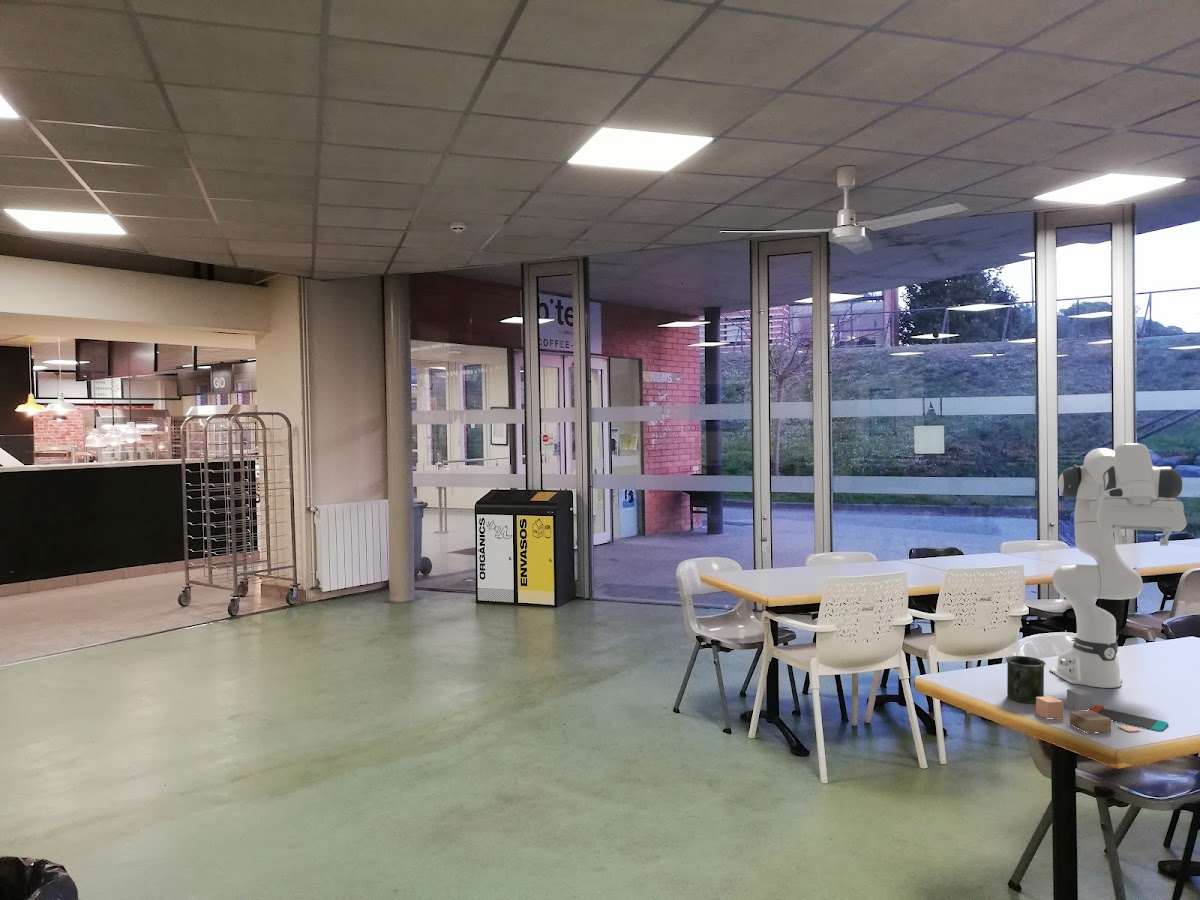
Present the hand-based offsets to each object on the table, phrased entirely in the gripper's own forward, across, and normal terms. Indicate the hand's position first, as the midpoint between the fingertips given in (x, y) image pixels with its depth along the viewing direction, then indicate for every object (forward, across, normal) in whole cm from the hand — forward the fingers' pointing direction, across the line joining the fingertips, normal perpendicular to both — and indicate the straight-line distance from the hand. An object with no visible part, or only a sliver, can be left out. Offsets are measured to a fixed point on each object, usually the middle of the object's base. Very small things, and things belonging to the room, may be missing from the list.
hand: (1143, 544), depth 214 cm
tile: (+43, 0, -33) cm, 54 cm away
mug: (+34, +23, -50) cm, 65 cm away
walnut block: (+44, +10, -31) cm, 55 cm away
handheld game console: (+39, -2, -42) cm, 57 cm away
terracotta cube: (+41, +19, -38) cm, 58 cm away
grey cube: (+35, +8, -47) cm, 60 cm away
